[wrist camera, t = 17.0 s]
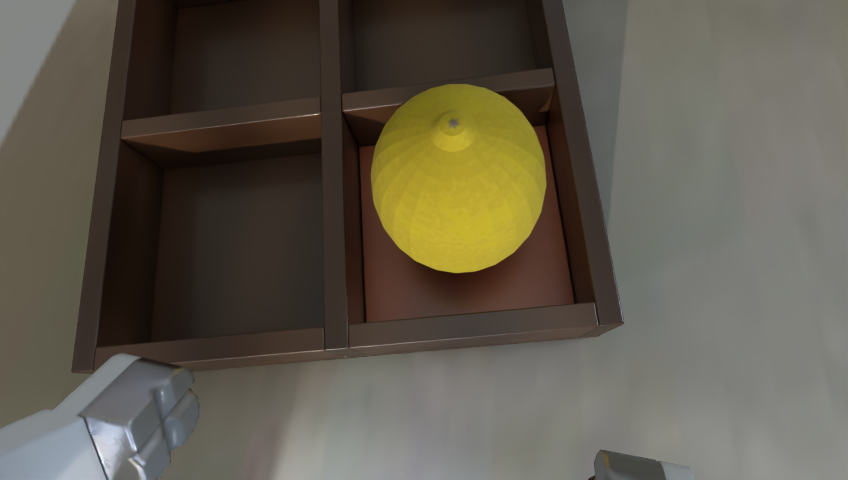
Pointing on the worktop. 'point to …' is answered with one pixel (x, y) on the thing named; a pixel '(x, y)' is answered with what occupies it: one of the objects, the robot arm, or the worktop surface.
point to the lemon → (458, 178)
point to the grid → (320, 185)
